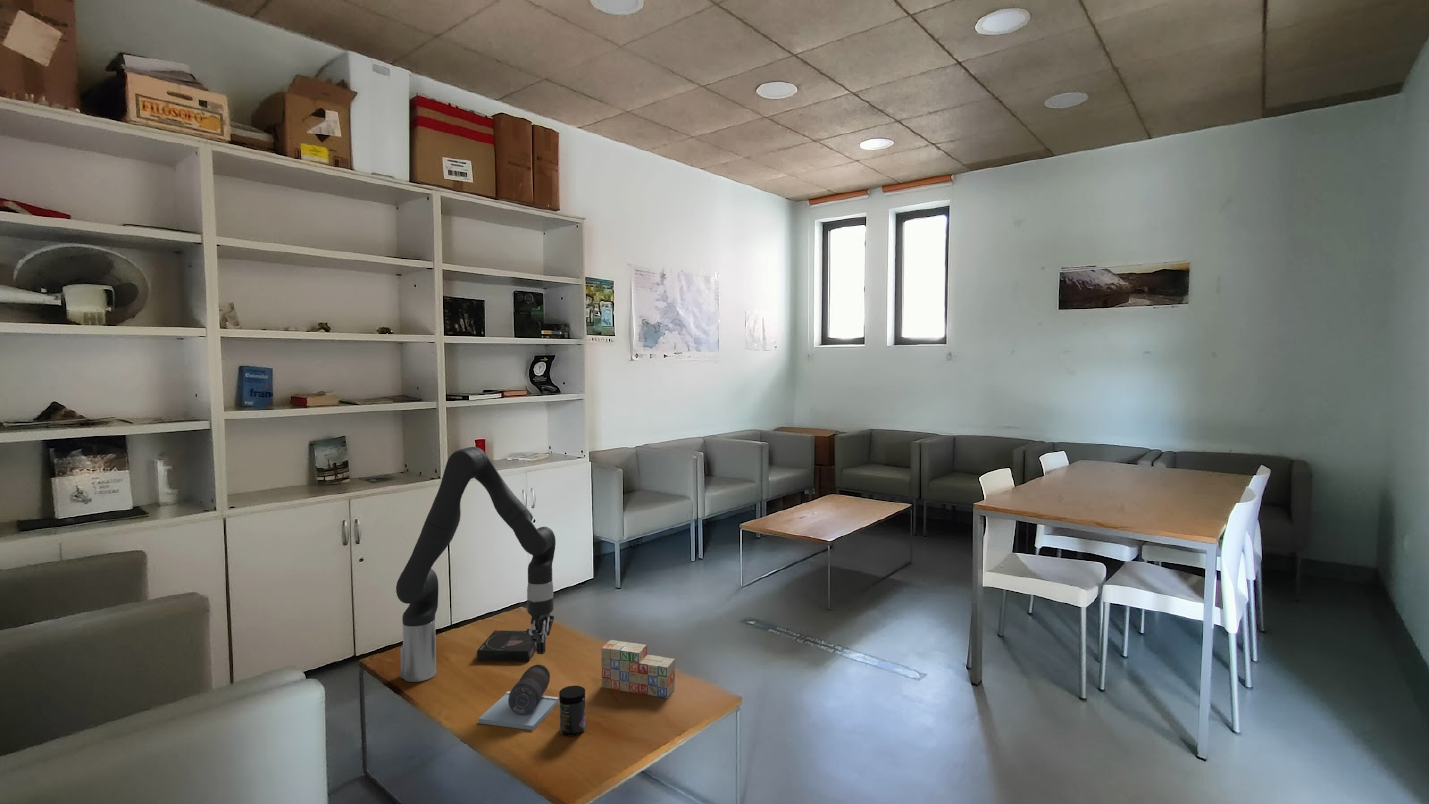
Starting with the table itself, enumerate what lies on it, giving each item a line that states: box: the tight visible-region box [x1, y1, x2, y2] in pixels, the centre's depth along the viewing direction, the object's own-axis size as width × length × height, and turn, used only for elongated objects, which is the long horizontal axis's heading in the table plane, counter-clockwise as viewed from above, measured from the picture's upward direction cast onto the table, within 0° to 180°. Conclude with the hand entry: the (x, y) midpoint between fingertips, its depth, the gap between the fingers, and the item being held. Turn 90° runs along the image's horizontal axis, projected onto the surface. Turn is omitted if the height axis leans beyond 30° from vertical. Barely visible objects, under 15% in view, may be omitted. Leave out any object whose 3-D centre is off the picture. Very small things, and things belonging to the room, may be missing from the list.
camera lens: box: [508, 664, 551, 715], centre depth 188 cm, size 8×8×15 cm
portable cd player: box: [476, 629, 536, 663], centre depth 225 cm, size 16×17×4 cm
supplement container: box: [558, 685, 586, 737], centre depth 176 cm, size 7×7×10 cm
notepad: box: [478, 690, 559, 731], centre depth 185 cm, size 16×15×2 cm
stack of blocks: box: [600, 639, 676, 699], centre depth 199 cm, size 21×6×12 cm, turn 71°
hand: (540, 653), depth 199 cm, fingers closed
